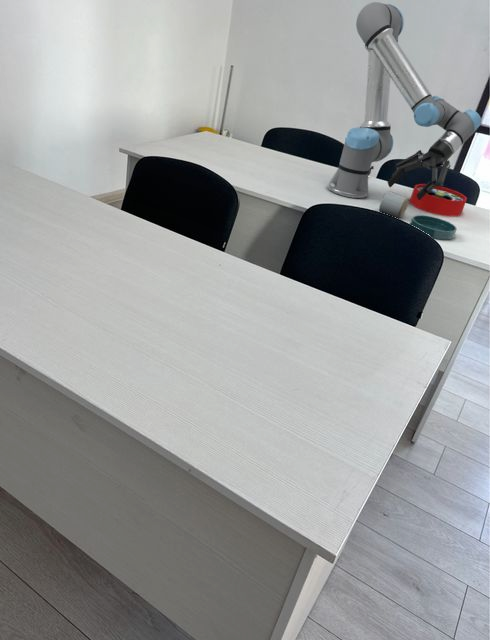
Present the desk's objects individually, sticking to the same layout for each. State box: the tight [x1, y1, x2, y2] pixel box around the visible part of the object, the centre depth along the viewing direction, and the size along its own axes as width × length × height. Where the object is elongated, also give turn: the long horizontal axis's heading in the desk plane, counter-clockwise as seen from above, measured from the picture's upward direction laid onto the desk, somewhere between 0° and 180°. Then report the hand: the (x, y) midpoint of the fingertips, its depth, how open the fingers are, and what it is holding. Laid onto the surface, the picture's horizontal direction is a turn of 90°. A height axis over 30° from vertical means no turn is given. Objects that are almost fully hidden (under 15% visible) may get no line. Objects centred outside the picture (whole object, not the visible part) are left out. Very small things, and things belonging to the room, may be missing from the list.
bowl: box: [409, 214, 458, 241], centre depth 199 cm, size 15×15×3 cm
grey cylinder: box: [378, 190, 409, 218], centre depth 209 cm, size 11×8×8 cm
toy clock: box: [409, 183, 468, 217], centre depth 226 cm, size 20×6×20 cm
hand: (403, 191), depth 207 cm, fingers open, 13 cm apart
